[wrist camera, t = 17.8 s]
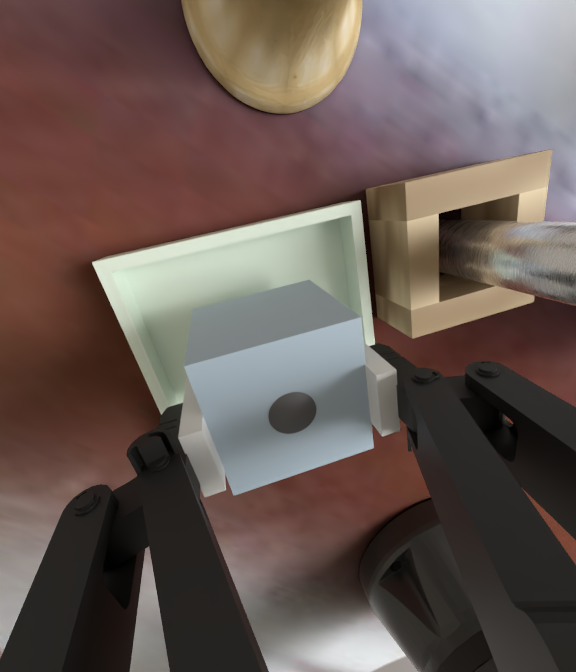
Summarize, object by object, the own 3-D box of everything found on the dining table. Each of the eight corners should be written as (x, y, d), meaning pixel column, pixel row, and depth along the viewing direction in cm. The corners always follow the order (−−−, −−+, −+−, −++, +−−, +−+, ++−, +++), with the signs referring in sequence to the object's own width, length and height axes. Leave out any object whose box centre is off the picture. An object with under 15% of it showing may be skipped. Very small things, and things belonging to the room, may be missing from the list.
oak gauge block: (480, 287, 22) (533, 301, 18) (377, 317, 21) (412, 338, 17) (486, 161, 19) (552, 149, 15) (365, 189, 18) (405, 182, 14)
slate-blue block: (325, 377, 18) (374, 448, 13) (225, 407, 18) (233, 496, 12) (309, 279, 16) (361, 317, 10) (192, 309, 15) (183, 366, 10)
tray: (366, 391, 23) (381, 408, 21) (189, 448, 21) (187, 472, 19) (344, 202, 18) (360, 200, 16) (106, 256, 16) (91, 262, 14)
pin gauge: (450, 261, 21) (764, 322, 9) (409, 272, 20) (682, 352, 9) (449, 214, 20) (812, 213, 8) (406, 225, 19) (719, 243, 7)
